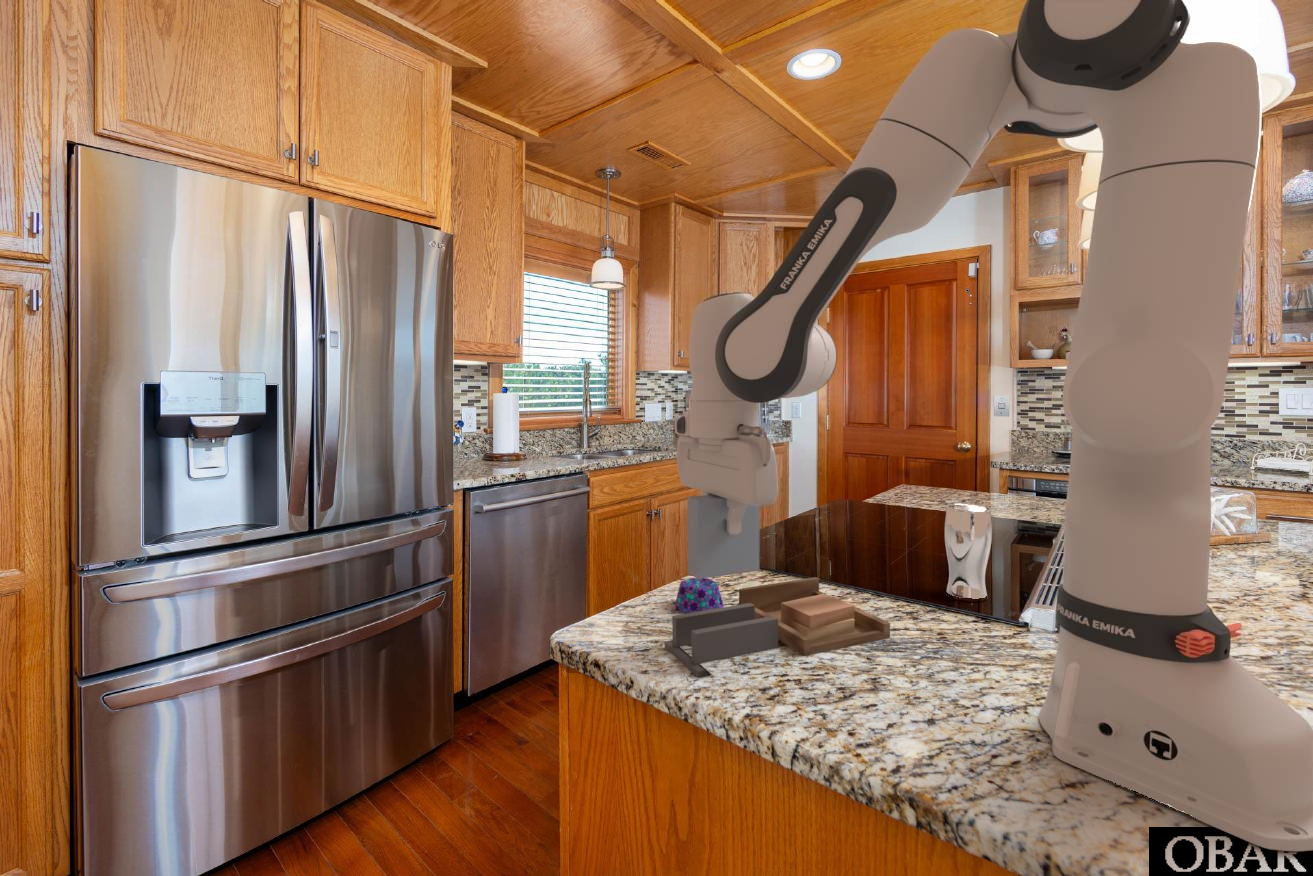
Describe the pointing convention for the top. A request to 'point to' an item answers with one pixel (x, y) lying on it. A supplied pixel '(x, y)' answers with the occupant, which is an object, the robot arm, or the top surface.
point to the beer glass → (967, 549)
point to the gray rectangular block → (720, 539)
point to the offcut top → (817, 611)
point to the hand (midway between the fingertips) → (723, 529)
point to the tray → (770, 605)
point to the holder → (720, 635)
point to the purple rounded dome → (698, 596)
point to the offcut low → (822, 629)
